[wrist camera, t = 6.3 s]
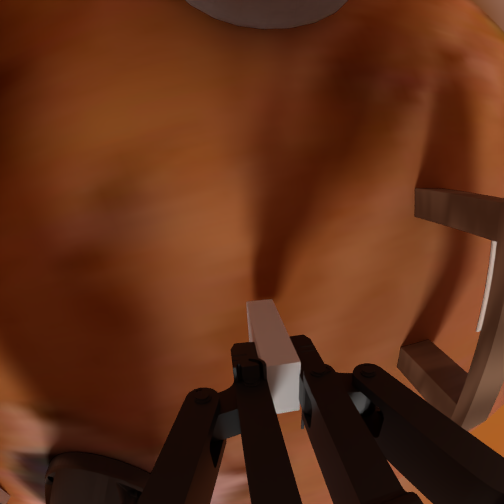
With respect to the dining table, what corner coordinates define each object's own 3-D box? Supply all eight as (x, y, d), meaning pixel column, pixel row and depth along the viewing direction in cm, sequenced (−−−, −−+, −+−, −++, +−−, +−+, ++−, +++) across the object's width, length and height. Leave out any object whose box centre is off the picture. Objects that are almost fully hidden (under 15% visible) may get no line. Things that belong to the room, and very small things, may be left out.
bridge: (424, 359, 23) (486, 420, 14) (397, 366, 23) (456, 436, 14) (445, 188, 20) (542, 206, 11) (415, 188, 19) (516, 206, 10)
